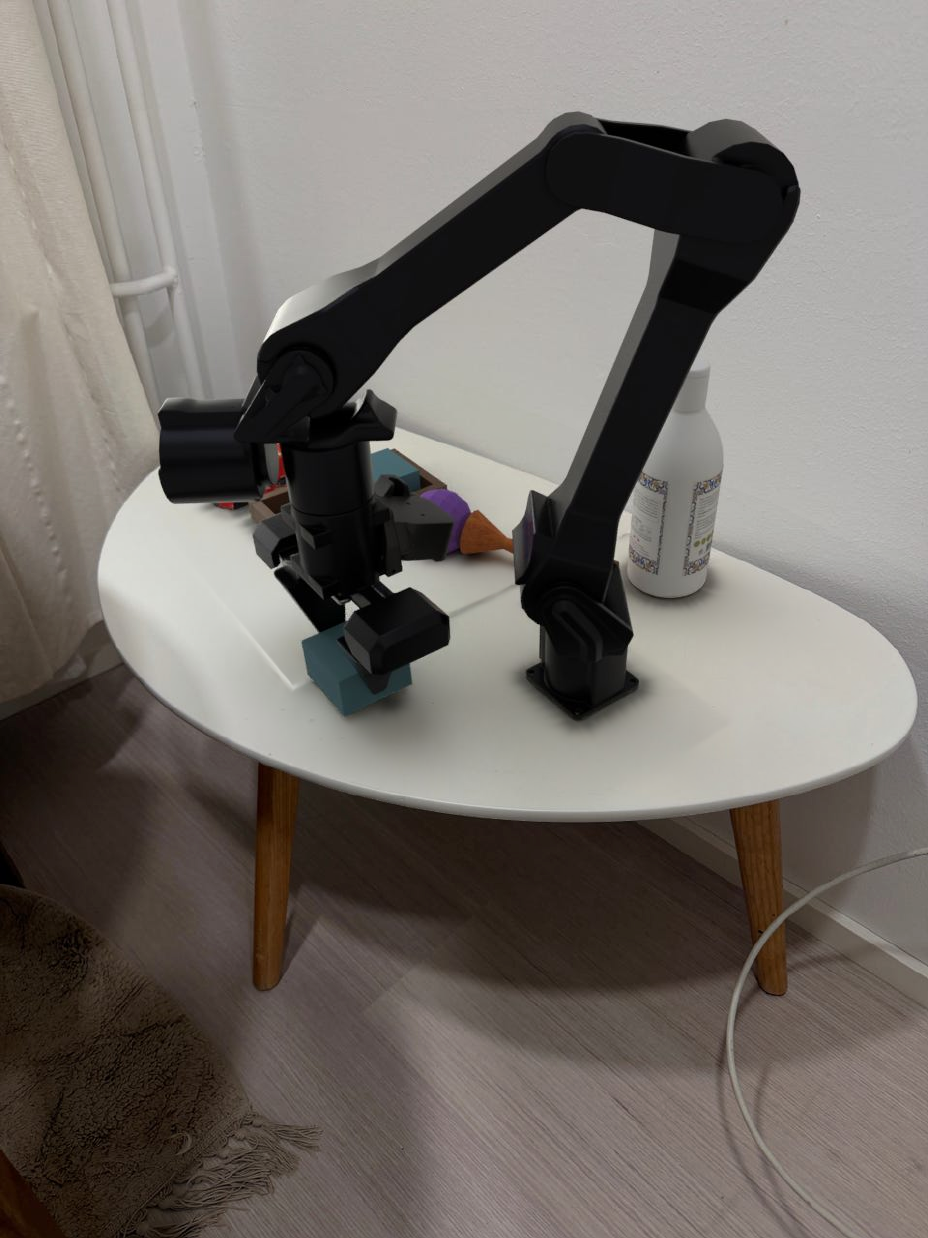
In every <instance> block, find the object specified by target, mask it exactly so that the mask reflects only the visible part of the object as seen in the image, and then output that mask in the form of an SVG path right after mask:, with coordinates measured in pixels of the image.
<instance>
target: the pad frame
mask: <svg viewBox="0 0 928 1238" xmlns="http://www.w3.org/2000/svg"><path fill="white" fill-rule="evenodd" d="M390 450H392V451H393V452H394V453H396V454H397V455H399V456H400V457H401V458H403V459H404V460H406V461H407V462H408V463H410V464H411V465H413V466H414V467H415V468H417V469H418V470H419V477H420V490H418V491H415V492H412V493H416V494H418V495H419V496H421V495H422V494H424V493H425V492H427V491H430V490H437V489H446V490H448V484H446V483H445V482H443V481H442V480H440V479H439V478H438V477H436V476H435V475H434V474H432V473H430V472H429V471H428V470H426V469H425V468H424V467H422V466H421V465H419V464H417V462H415V461H413V460H412V459H410V457H407V456H406V455H405V454H404V453H402V452H400V451H399V450H398V449H396V448H392V449H390ZM410 495H411V493H410ZM248 503H249V505H248V508H249V513H250V518H251V519H252V520H253V521H254V522H255V523H256V524H257V525H258V524H259V523H260V521H261V520H263V519H266V518H269V517H271V516H274V515H277V514H280V513H282V512H281V507H280V506H282V505H285V504H288V503H290V499H289V494H288V488H287V486H286V487H283V488H280V489H277V490H275V491H272V492H269V493H266V494H264V495H263V498H262V499H261V500H260V501H258V502H248Z"/></svg>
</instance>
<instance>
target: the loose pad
mask: <svg viewBox="0 0 928 1238" xmlns="http://www.w3.org/2000/svg"><path fill="white" fill-rule="evenodd" d="M347 621H348V620H346V621H345V622H343V623H341V624H339V625H336V626H334V627H332V628H329V629H327V630H325V631H322V632H320V633H318V632H317V633H316V634H314V635H311V636H309V637H306V638H304V639H301V641H300V642H301V648H302V652H303V657H304V662H305V668H306V672H307V673H306V674H307V675H308V677H309V678H310V679H311V680H312V682H313V683H314V684H315V685H316V686H317V687H318V688H319V689H320V691H321V692H322V693H323V694H324V695H325V696H326V697H327V698H328V700H329V701H330V702H331V703H332V704H333V705H334V706H335V709H336V710H338V711H339V712H340V713H341V715H342V716H343V717H347V716H349V715H351V714H353V713H356V712H358V711H360V710H361V709H364V708H366V707H368V706H370V705H372V704H374V703H376V702H379V701H381V700H382V699H385V698H386V697H388V696H390V695H393V694H394V693H397V692H399V691H401V690H403V689H405V688H407V687H409V686H411V685H412V684H413V679H412V669H411V663H410V664H408V665H405V666H403V667H401V668H399V669H397V670H395V671H393V672H392V673H391V676H390V679H389V682H388V685H387V688H386V689H385V690H384V691H382V692H380V693H378V694H376V695H374V694H373V693H372V692H371V691H370V690H369V688H368V687H367V685H366V684H365V683H364V681H363V680H362V678H361V677H360V675H359V674H358V672H357V671H356V669H355V668H354V666H353V665H352V663H351V662H350V660H349V659H348V657H347V656H346V655H345V653H344V652H343V650H342V649H341V647H340V646H339V644H338V643H337V641H336V639H337V638H340V637H342V636H344V635H345V634H344V628H343V627H344V626H345V624H346V623H347Z"/></svg>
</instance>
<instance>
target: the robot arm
mask: <svg viewBox="0 0 928 1238" xmlns="http://www.w3.org/2000/svg"><path fill="white" fill-rule="evenodd" d="M801 193H802V190H801V187H800V182H799V180H798V176H797V172H796V169H795V165H793V163H792V162H791V161H790V160H789V158H788V157H787V155H786V154H785V153H784V152H783V151H782V150H781V149H780V148H779V147H777V146H776V145H775V144H774V143H773V142H771V141H770V140H769V139H768V138H767V137H765V136H764V135H763V134H762V133H761V132H760V131H758V130H757V129H756V128H754V127H753V126H751V125H750V124H748V123H746V122H745V121H742V120H738V119H730V118H722V119H718V120H713V121H708V122H707V123H705V124H703V125H701V126H700V127H697V128H696V129H694V130H689V129H685V128H679V127H674V126H669V125H663V124H658V123H647V122H634V121H622V120H612V119H611V120H610V119H605V118H602V117H601V118H600V117H595V116H593V115H592V114H590V113H587V112H582V111H579V110H578V111H568V112H567V111H566V112H564V113H562V114H560V115H558V116H556V117H554V118H553V119H552V120H550V121H549V122H548V123H547V124H546V125H545V126H544V128H543V130H542V131H541V132H540V133H539V134H538V136H537V137H535V138H534V139H533V140H532V141H531V142H529V143H527V145H525V146H524V147H523V148H522V149H520V150H519V151H518V152H516V153H514V154H513V155H511V157H510V158H508V159H507V160H505V162H502V164H500V165H499V166H497V167H496V168H494V169H493V170H492V171H491V172H490V173H489V174H487V175H486V176H485V177H482V179H480V180H479V181H478V182H477V183H475V184H474V185H472V187H470V188H468V189H467V190H466V191H464V192H463V193H462V194H461V195H460V196H459V197H457V198H456V199H454V200H453V201H452V202H450V203H449V204H448V205H447V206H445V207H444V208H443V209H441V210H440V211H439V212H437V213H436V214H434V216H432V217H430V218H429V219H427V221H426V222H424V223H423V224H422V225H420V226H419V227H418V228H416V229H415V230H413V231H412V232H411V233H410V234H409V235H407V236H405V238H403V239H402V240H400V241H399V242H398V243H396V245H394V246H393V247H391V248H390V249H389V250H387V251H386V252H385V253H384V254H382V255H381V256H379V257H377V258H376V259H373V260H372V261H369V262H368V263H366V264H363V265H361V266H358V267H356V268H352V269H348V270H346V271H342V272H340V273H336V274H334V275H331V276H329V277H327V278H325V279H323V280H321V281H320V282H317V283H315V284H313V285H312V286H310V287H308V288H305V289H303V290H302V291H300V292H297V293H295V294H293V295H292V296H291V297H288V298H287V300H285V301H284V302H283V304H282V305H281V306H280V307H279V308H278V309H277V311H276V314H275V316H274V317H273V319H272V322H271V325H270V326H269V328H268V331H267V333H266V334H265V337H264V339H263V341H262V342H261V344H260V348H259V349H258V351H257V355H256V374H257V375H255V376H254V378H253V381H252V382H251V385H250V387H249V389H248V392H247V394H246V396H245V397H244V398H220V399H219V398H216V399H194V398H191V397H190V398H189V397H167V398H166V399H165V400H164V402H163V404H162V405H161V406H160V409H159V410H158V412H157V413H156V414H157V420H158V422H159V425H160V431H159V438H158V439H159V440H158V458H159V468H158V471H157V475H158V480H159V483H160V486H161V489H162V492H163V494H164V495H165V497H166V498H167V500H168V501H169V502H170V503H171V504H173V505H183V504H184V505H185V504H186V505H187V504H213V503H225V502H258V501H260V500H261V499H262V498H263V495H264V491H265V485H266V486H274V485H276V483H277V480H278V475H279V453H278V445H277V444H280V449H281V455H282V461H283V466H284V472H285V477H286V483H287V488H288V494H289V499H290V503H288V504H285V505H282V506H280V507H281V512H282V513H280V514H277V515H274V516H271V517H269V518H266V519H263V520H261V521H260V523H259V524H257V526H256V528H255V529H254V531H252V532H253V533H251V534H252V540H253V544H254V549H255V554H256V556H257V557H258V558H259V559H260V560H261V561H262V562H263V563H264V564H265V565H266V567H268V568H269V570H274V569H275V570H274V571H273V576H274V579H276V581H277V582H278V583H279V584H280V585H281V587H282V588H283V589H284V590H285V591H286V593H287V594H288V595H289V597H290V598H291V599H292V601H293V602H294V603H295V605H296V606H297V607H298V608H299V610H300V611H301V613H303V615H304V616H305V618H307V620H308V621H309V622H310V624H311V625H312V627H313V628H314V629H315V631H316V632H317V634H318V633H320V632H322V631H325V630H327V629H329V628H332V627H334V626H336V625H339V624H341V623H343V622H345V621H347V623H346V624H345V626H344V627H343V628H344V634H345V635H344V636H342V637H340V638H337V639H336V641H337V643H338V644H339V646H340V647H341V649H342V650H343V652H344V653H345V655H346V656H347V657H348V659H349V660H350V662H351V663H352V665H353V666H354V668H355V669H356V671H357V672H358V674H359V675H360V677H361V678H362V680H363V681H364V683H365V684H366V685H367V687H368V688H369V690H370V691H371V692H372V693H373V694H374V695H376V694H378V693H380V692H382V691H384V690H385V689H386V688H387V685H388V682H389V679H390V676H391V673H392V672H393V671H395V670H397V669H399V668H401V667H403V666H405V665H408V664H410V665H411V664H412V663H414V662H416V661H418V660H420V659H422V658H424V657H426V656H428V655H430V654H433V653H435V652H437V651H439V650H441V649H443V648H446V647H448V646H449V644H450V641H451V623H450V616H449V615H448V613H446V612H445V611H444V610H443V609H442V608H440V607H439V606H438V605H437V604H436V603H435V602H434V601H432V600H431V599H430V598H429V597H427V596H426V594H424V593H423V592H422V591H419V590H418V589H415V588H413V587H412V586H409V587H407V588H404V589H402V590H399V591H396V592H393V591H392V590H391V589H390V588H389V587H388V586H387V585H386V584H384V583H383V582H382V581H381V580H380V579H381V578H380V577H382V576H384V575H385V576H386V577H387V578H391V577H392V576H395V575H398V574H401V573H402V572H403V562H414V561H430V560H431V561H433V562H434V563H435V562H436V563H439V562H444V561H445V560H446V558H447V554H448V553H447V550H448V546H449V543H450V539H451V535H452V531H453V527H454V523H455V519H454V518H453V517H452V516H451V515H449V514H448V513H447V512H445V511H444V510H442V509H441V508H440V507H438V506H437V505H436V504H434V503H433V502H432V501H430V500H428V499H426V498H423V497H420V496H419V495H418V494H416V493H411V495H410V491H409V486H408V484H407V483H406V482H405V481H403V480H402V479H400V478H399V477H398V476H396V475H387V474H381V475H380V477H379V478H378V479H377V481H376V482H375V484H374V476H373V467H372V458H371V454H372V449H371V442H389V441H390V442H391V441H392V440H393V439H394V437H395V431H396V425H397V418H398V410H397V408H396V407H395V406H393V405H392V404H390V403H388V402H387V401H385V400H383V399H381V398H379V397H378V395H376V393H375V392H374V390H373V389H370V388H367V389H366V390H365V391H364V392H363V393H362V395H361V396H360V397H359V398H358V399H356V400H353V401H350V400H351V399H352V398H353V397H354V396H355V395H356V394H357V393H358V391H359V390H360V389H362V388H363V386H364V385H365V384H366V383H368V381H369V380H371V378H372V377H373V376H375V374H376V373H377V371H378V370H379V369H380V368H381V366H382V365H383V364H384V362H385V361H387V359H388V358H389V356H390V355H391V353H392V352H393V351H394V350H395V348H396V347H397V346H398V344H399V343H400V342H401V341H402V340H403V339H404V338H405V337H406V336H407V335H408V334H409V333H410V332H411V331H412V330H413V329H414V328H415V327H416V326H418V325H419V324H421V323H422V322H423V321H425V320H426V319H427V318H429V317H430V316H432V315H433V314H435V313H436V312H437V311H439V310H440V309H441V308H443V307H445V306H446V305H447V304H449V303H450V302H451V301H453V300H454V299H455V298H457V297H459V296H460V295H461V294H462V293H464V292H465V291H467V290H468V289H469V288H471V287H472V286H474V285H475V284H477V283H478V282H479V281H480V280H482V279H484V278H485V277H487V276H488V275H490V274H491V273H492V272H494V271H495V270H496V269H498V268H500V266H502V265H503V264H504V263H506V262H508V261H509V260H510V259H512V258H513V257H514V256H516V255H517V254H519V253H521V251H523V250H524V249H526V248H527V247H528V246H530V245H531V244H533V243H534V242H535V241H537V240H538V239H540V238H541V237H542V236H544V235H545V234H547V233H548V232H549V231H551V230H552V229H553V228H556V226H558V225H559V224H561V223H562V222H564V221H565V220H566V219H567V218H569V217H571V216H572V215H573V214H574V213H576V212H578V211H580V210H585V211H586V210H587V211H593V212H598V213H603V214H606V215H609V216H612V217H616V218H619V219H622V220H625V221H629V222H631V223H634V224H637V225H640V226H643V227H647V228H650V229H653V237H652V246H651V252H650V253H651V254H650V261H649V268H648V275H647V280H646V284H645V287H644V289H643V292H642V294H641V297H640V299H639V301H638V303H637V306H636V308H635V310H634V313H633V315H632V318H631V320H630V323H629V324H628V325H629V326H628V328H627V329H626V332H625V334H624V337H623V339H622V342H621V343H620V344H621V345H620V346H619V349H618V352H617V354H616V357H615V358H614V361H613V363H612V366H611V368H610V371H609V372H608V376H607V378H606V379H605V383H604V385H603V388H602V390H601V392H600V395H599V397H598V400H597V402H596V405H595V406H594V409H593V412H592V414H591V416H590V418H589V421H588V422H587V423H588V424H587V426H586V428H585V431H584V433H583V436H582V438H581V439H580V443H579V445H578V448H577V450H576V452H575V455H574V457H573V460H572V461H571V463H570V467H569V469H568V472H567V474H566V476H565V478H564V479H563V481H562V482H561V484H560V485H558V487H556V488H555V489H554V490H553V491H552V492H551V493H550V494H549V495H545V494H543V493H541V492H538V491H537V490H534V489H530V490H529V493H528V496H527V501H526V506H525V510H524V514H523V516H522V518H521V520H520V522H519V523H518V524H517V525H516V526H515V527H514V528H513V529H512V530H511V536H512V538H511V539H513V553H512V555H513V570H514V572H513V573H514V585H515V586H517V587H519V599H520V607H521V610H523V612H524V614H525V615H526V617H527V618H528V619H530V621H532V622H533V623H535V624H536V625H538V626H539V641H538V642H539V645H538V647H539V649H538V650H539V651H538V658H539V660H540V662H539V663H536V664H534V665H533V666H531V667H529V668H527V669H526V670H525V673H524V674H525V676H524V677H525V678H526V680H528V681H529V682H530V683H532V685H534V686H535V688H537V689H538V690H539V691H541V692H542V693H543V694H544V695H545V696H546V697H548V698H549V700H551V701H552V702H553V703H554V704H555V705H556V706H558V707H559V708H560V709H561V710H562V711H564V712H565V713H566V714H567V715H568V716H569V717H571V719H573V720H576V721H580V720H583V719H585V718H587V717H589V716H591V715H592V714H594V713H595V712H597V711H600V710H601V709H603V708H605V707H606V706H608V705H610V704H612V703H614V702H615V701H616V700H617V701H618V700H619V699H620V698H623V697H624V696H625V695H628V694H629V693H631V692H633V691H635V690H636V689H638V688H639V686H640V680H639V678H638V677H636V676H635V675H634V674H632V673H631V672H630V671H628V670H627V662H628V653H629V652H628V651H629V645H630V644H631V642H632V640H633V639H634V636H635V634H634V633H635V632H634V629H633V624H632V619H631V615H630V611H629V606H628V600H627V596H626V591H625V587H624V582H623V577H622V572H621V567H620V563H619V564H618V563H617V562H616V561H615V560H616V559H615V554H616V549H617V548H616V546H617V540H618V533H619V532H618V531H619V525H620V522H621V521H620V520H621V517H622V515H623V513H624V510H625V509H626V506H627V504H628V502H629V500H630V498H631V495H632V494H633V493H634V487H635V485H636V483H637V481H638V479H639V477H640V475H641V472H642V470H643V468H644V466H645V464H646V462H647V460H648V458H649V456H650V453H651V451H652V449H653V447H654V445H655V443H656V441H657V439H658V437H659V434H660V432H661V430H662V428H663V426H664V424H665V422H666V420H667V418H668V415H669V413H670V411H671V409H672V407H673V405H674V403H675V401H676V399H677V396H678V394H679V392H680V390H681V388H682V386H683V384H684V382H685V380H686V377H687V375H688V373H689V371H690V369H691V367H692V365H693V363H694V361H695V358H696V356H697V357H698V354H699V352H700V350H701V348H702V346H703V344H704V343H705V342H704V341H705V339H706V337H707V335H708V333H709V331H710V329H711V327H712V324H713V323H714V322H715V320H716V319H717V317H718V316H719V315H720V313H721V312H722V311H724V310H725V308H727V307H728V306H729V305H730V304H732V302H733V301H734V300H736V298H737V297H738V296H739V295H740V294H741V293H743V292H744V291H745V290H746V289H747V288H748V287H749V286H750V285H751V284H752V283H753V282H754V281H755V280H756V278H757V277H758V276H759V274H760V272H762V270H763V269H764V267H765V265H766V264H767V262H768V261H769V259H770V258H771V256H772V255H773V254H774V252H775V251H776V249H777V248H778V246H779V245H780V244H781V242H782V241H783V239H784V238H785V236H786V235H787V234H788V232H789V230H790V229H791V227H792V225H793V224H794V222H795V219H796V217H797V213H798V210H799V206H800V204H801V195H802V194H801ZM280 565H281V566H280ZM279 566H280V567H279ZM350 602H352V603H353V604H354V605H355V606H356V607H357V608H358V609H356V610H353V612H352V613H351V614H350V617H349V618H348V619H347V618H346V615H347V614H346V613H347V612H346V604H349V603H350Z"/></svg>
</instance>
